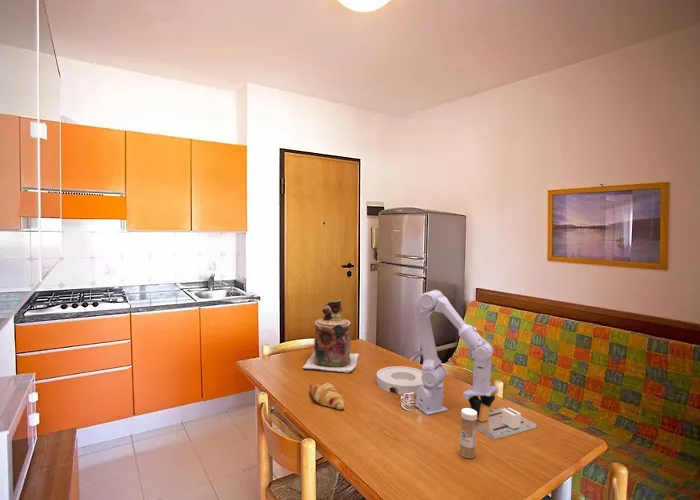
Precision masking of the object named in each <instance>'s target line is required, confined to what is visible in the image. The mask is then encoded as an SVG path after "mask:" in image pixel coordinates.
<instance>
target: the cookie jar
mask: <svg viewBox="0 0 700 500" xmlns="http://www.w3.org/2000/svg"><path fill="white" fill-rule="evenodd" d="M341 302H342V299H341V298H340V299H339V300H337V301H336V300H332V301H329V302H327V303H325V305H324V307H323V309H322V311H321V312H322V313H323V317H322V318H319V319H316V320H315V321H314V323H313V324H314V327H315V337H314V341H313V342H314V345H313V352H312V354H311V355H310V357H308V359H307V361H306V363H305V364H304V365H303V366H302V369H306V370H319V371H325V372H326V371H327V372H338V373H346V374H349V373H350V372H352V371H354V370H355V368H356V366H357V365H358V364H357V362H358V358H359V355H360V353H351V351H352V343H351V332H350V327H351V325H352V322H351V321H350V320H348V319H346V318H343V317H342V311H343V308H342V303H341Z"/></svg>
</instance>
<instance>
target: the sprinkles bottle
mask: <svg viewBox="0 0 700 500" xmlns="http://www.w3.org/2000/svg"><path fill="white" fill-rule="evenodd" d="M460 417H461V422H460V435H459V453H458V454H459V455H460V456H461V458H462V457H463V458H465V459H468V460H469V459H473V458H474V457H475V456H476V454H475V452H476V450H475V449H476V437H477V436H476V435H477V434H476V433H477V429H476V420H477V412H476V411H475V410H473V409H471V407H470V408H469V407H465V408H462V409H461V411H460Z"/></svg>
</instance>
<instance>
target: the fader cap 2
mask: <svg viewBox="0 0 700 500" xmlns="http://www.w3.org/2000/svg"><path fill="white" fill-rule="evenodd" d="M521 416H522V413H521V412H519V411H517V410H515V409H513V408H511V407H505V409H502V418H501V422H502V423H504V424H505V425H507V426H509V427H511V428H512V429H515V428H518V427H521Z"/></svg>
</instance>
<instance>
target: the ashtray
mask: <svg viewBox="0 0 700 500" xmlns="http://www.w3.org/2000/svg"><path fill="white" fill-rule="evenodd" d="M423 384H424V383H423V382H422V369H419V368H414V367H410V366H404V365H403V366H400V365H399V366H398V365H397V366H396V365H395V366H387V367H382V368H380V369H378V371H377V372H376V385H377V387H379V388H380V389H381V390H383V391H385V392H388V393H391V390H390V389H391V388H392V389H393V391H395V392H396V393H397V394H398V395H401V396H403V395H402V394H404V393H410V392H414V393H417V389H418V387H421V386H422V385H423Z"/></svg>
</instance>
